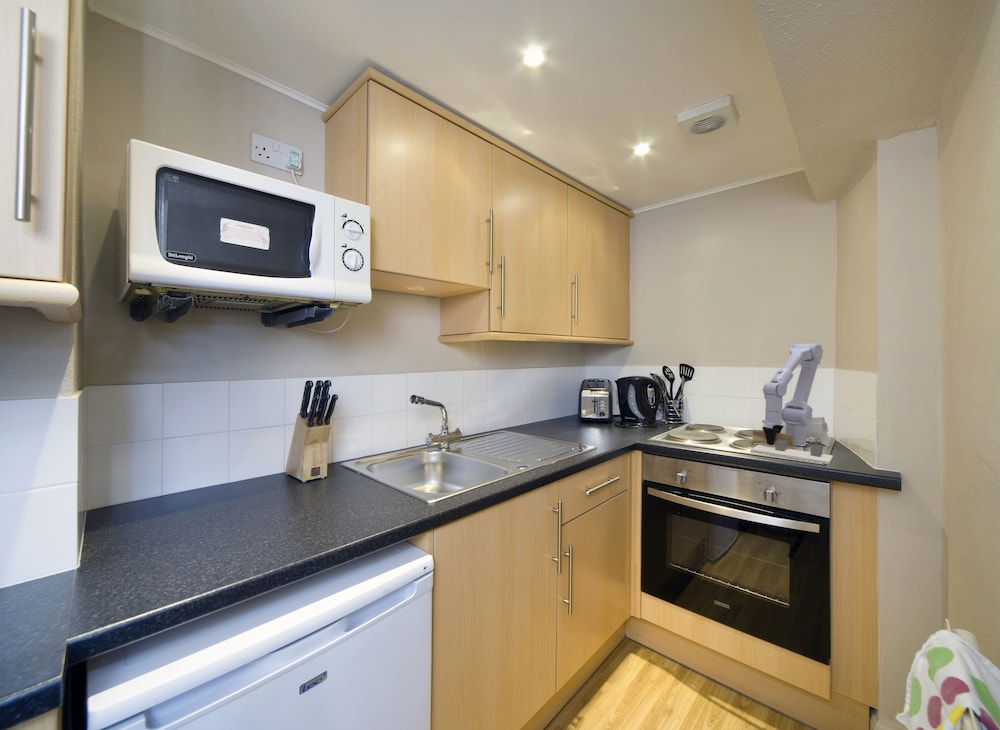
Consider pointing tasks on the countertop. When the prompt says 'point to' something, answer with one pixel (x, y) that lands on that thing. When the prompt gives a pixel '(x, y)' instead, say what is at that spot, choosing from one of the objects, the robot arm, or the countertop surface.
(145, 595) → the countertop surface
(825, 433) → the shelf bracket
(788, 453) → the board
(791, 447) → the door panel
